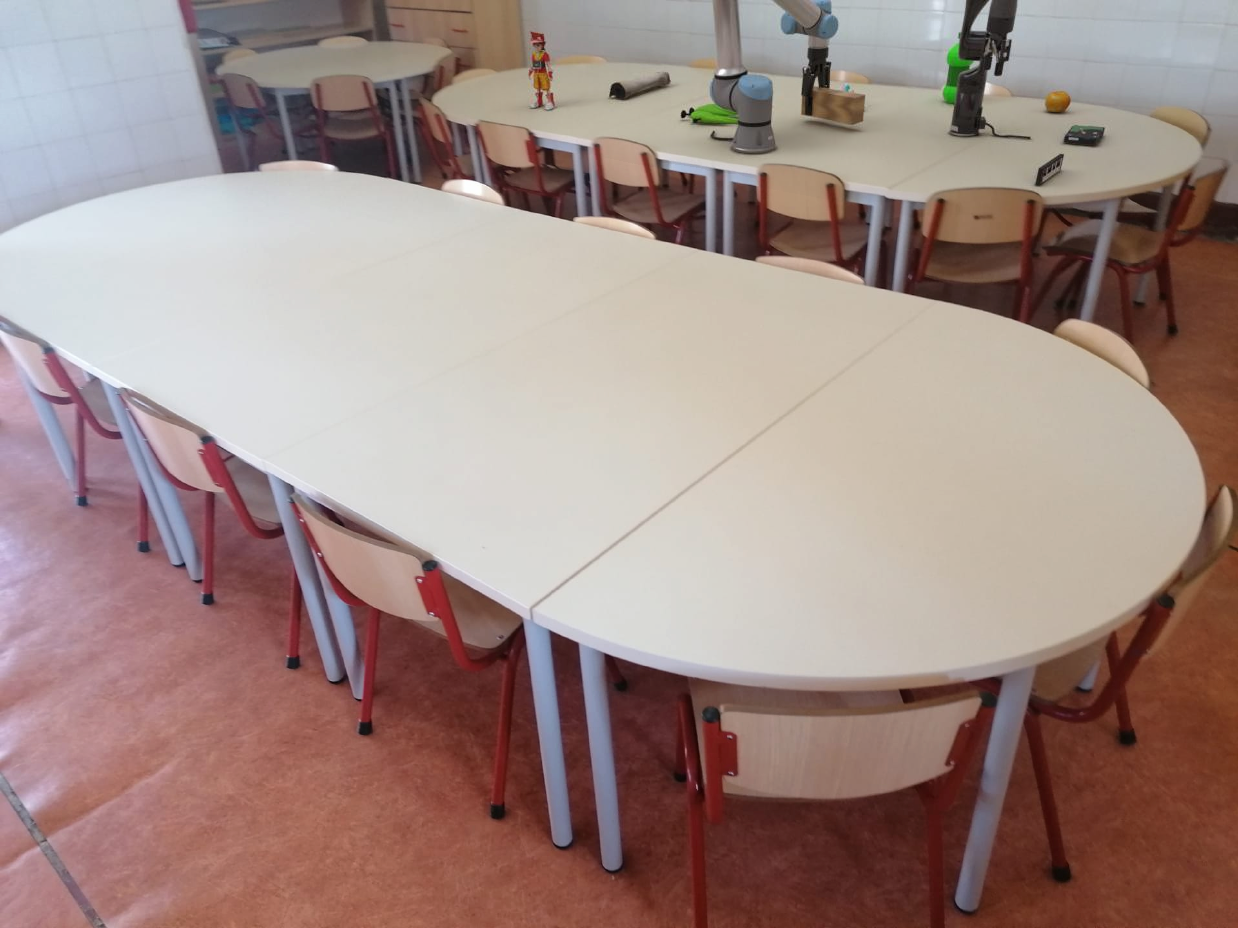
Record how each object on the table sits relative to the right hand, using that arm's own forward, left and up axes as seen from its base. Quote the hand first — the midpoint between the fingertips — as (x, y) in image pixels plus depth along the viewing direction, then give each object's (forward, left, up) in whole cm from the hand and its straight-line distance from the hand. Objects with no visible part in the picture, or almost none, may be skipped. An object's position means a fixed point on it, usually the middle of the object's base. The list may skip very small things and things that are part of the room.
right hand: (992, 73), depth 274 cm
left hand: (+53, -52, -24) cm, 78 cm away
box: (+46, -46, -25) cm, 70 cm away
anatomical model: (+40, -73, -28) cm, 88 cm away
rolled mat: (+129, -103, -28) cm, 168 cm away
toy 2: (+88, -54, -28) cm, 107 cm away
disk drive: (-38, -28, -28) cm, 55 cm away
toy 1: (+167, -76, -28) cm, 186 cm away
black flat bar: (-19, +14, -28) cm, 37 cm away
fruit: (-36, -66, -28) cm, 80 cm away
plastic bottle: (-1, -82, -28) cm, 86 cm away
